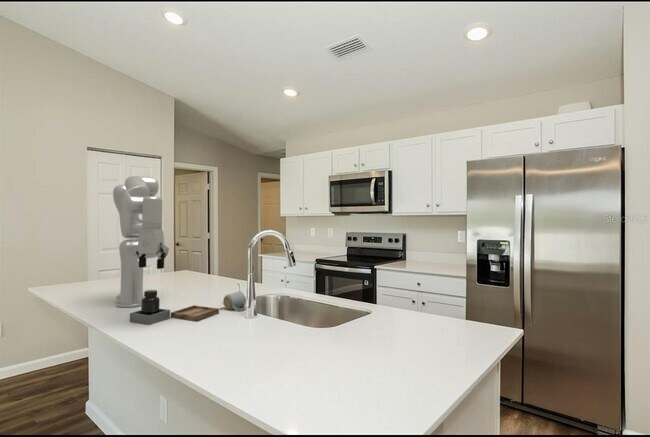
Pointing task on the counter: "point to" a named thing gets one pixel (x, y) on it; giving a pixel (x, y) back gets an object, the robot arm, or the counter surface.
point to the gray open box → (149, 317)
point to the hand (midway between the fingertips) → (151, 267)
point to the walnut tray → (194, 313)
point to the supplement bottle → (150, 303)
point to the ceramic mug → (235, 301)
